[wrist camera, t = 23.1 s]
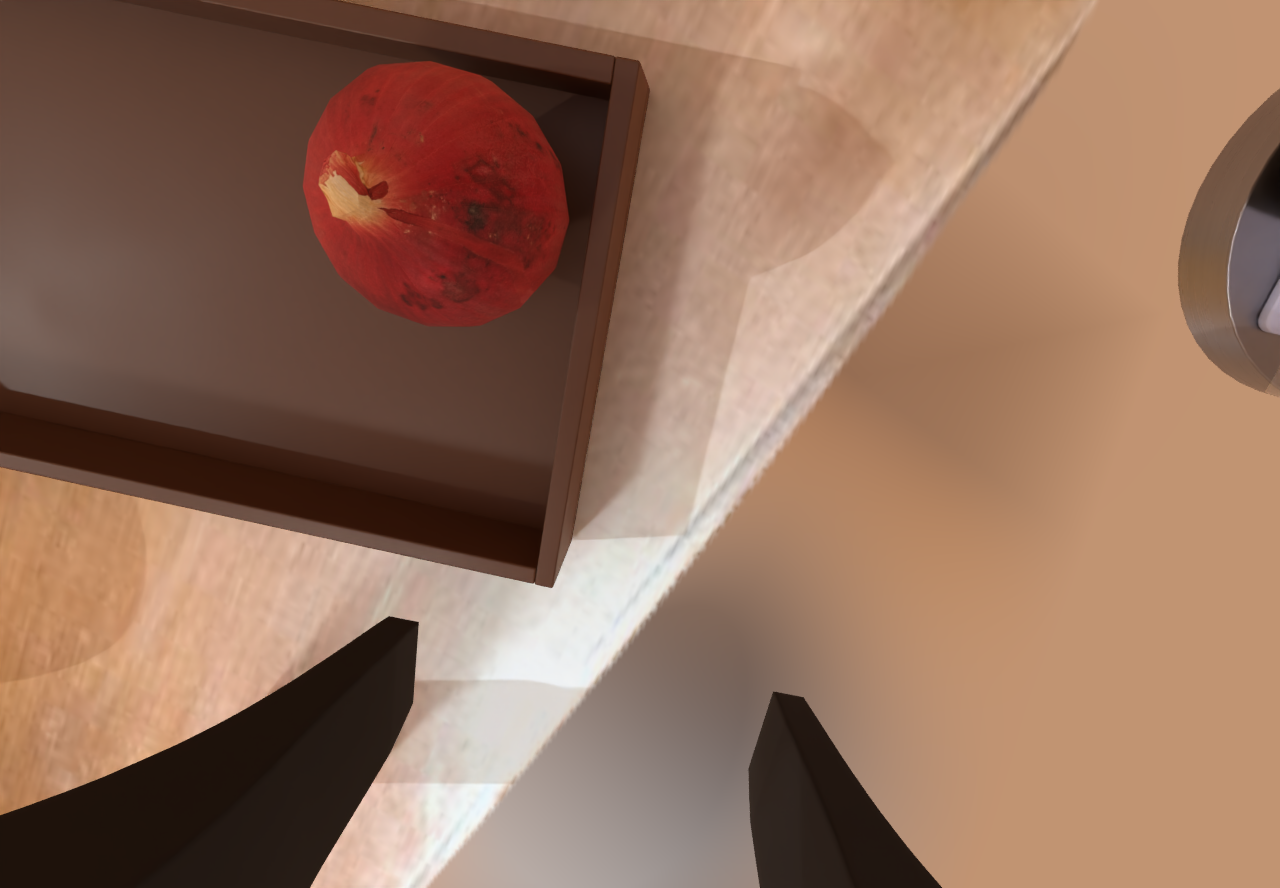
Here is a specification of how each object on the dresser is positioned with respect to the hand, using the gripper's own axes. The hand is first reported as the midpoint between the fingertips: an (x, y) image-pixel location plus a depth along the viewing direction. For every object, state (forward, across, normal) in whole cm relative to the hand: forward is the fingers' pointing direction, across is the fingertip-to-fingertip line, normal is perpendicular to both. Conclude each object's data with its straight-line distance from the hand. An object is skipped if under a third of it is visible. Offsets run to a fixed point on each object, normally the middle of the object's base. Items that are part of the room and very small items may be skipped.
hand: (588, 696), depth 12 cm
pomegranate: (+10, +6, -8) cm, 14 cm away
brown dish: (+10, +16, -5) cm, 20 cm away
